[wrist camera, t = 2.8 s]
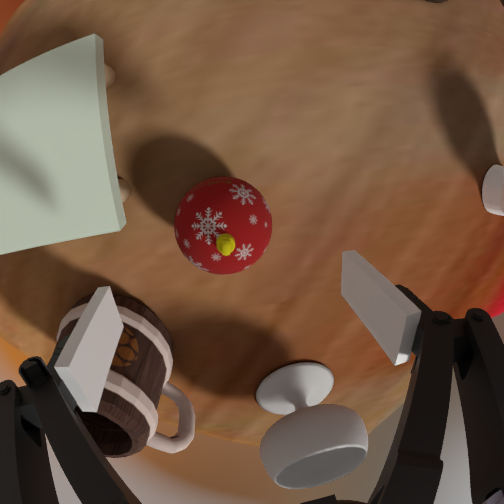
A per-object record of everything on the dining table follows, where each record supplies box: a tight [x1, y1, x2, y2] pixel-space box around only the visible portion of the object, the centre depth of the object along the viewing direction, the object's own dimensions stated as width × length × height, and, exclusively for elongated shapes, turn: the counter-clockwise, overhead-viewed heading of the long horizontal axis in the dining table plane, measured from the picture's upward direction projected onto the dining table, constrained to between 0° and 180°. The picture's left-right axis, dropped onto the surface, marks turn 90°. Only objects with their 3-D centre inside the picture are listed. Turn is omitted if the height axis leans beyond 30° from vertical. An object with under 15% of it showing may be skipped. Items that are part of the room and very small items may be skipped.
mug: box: [53, 294, 195, 458], centre depth 29 cm, size 20×15×15 cm
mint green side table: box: [0, 34, 131, 255], centre depth 22 cm, size 16×16×8 cm
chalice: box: [256, 362, 368, 489], centre depth 35 cm, size 14×14×15 cm
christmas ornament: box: [174, 176, 272, 274], centre depth 26 cm, size 9×9×10 cm
